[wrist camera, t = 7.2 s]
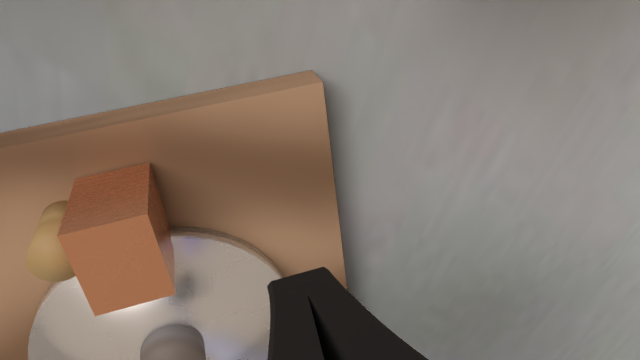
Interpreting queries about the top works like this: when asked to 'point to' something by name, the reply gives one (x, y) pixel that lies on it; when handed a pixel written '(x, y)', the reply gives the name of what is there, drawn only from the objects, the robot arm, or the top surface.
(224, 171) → the mounting board
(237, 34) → the top surface
